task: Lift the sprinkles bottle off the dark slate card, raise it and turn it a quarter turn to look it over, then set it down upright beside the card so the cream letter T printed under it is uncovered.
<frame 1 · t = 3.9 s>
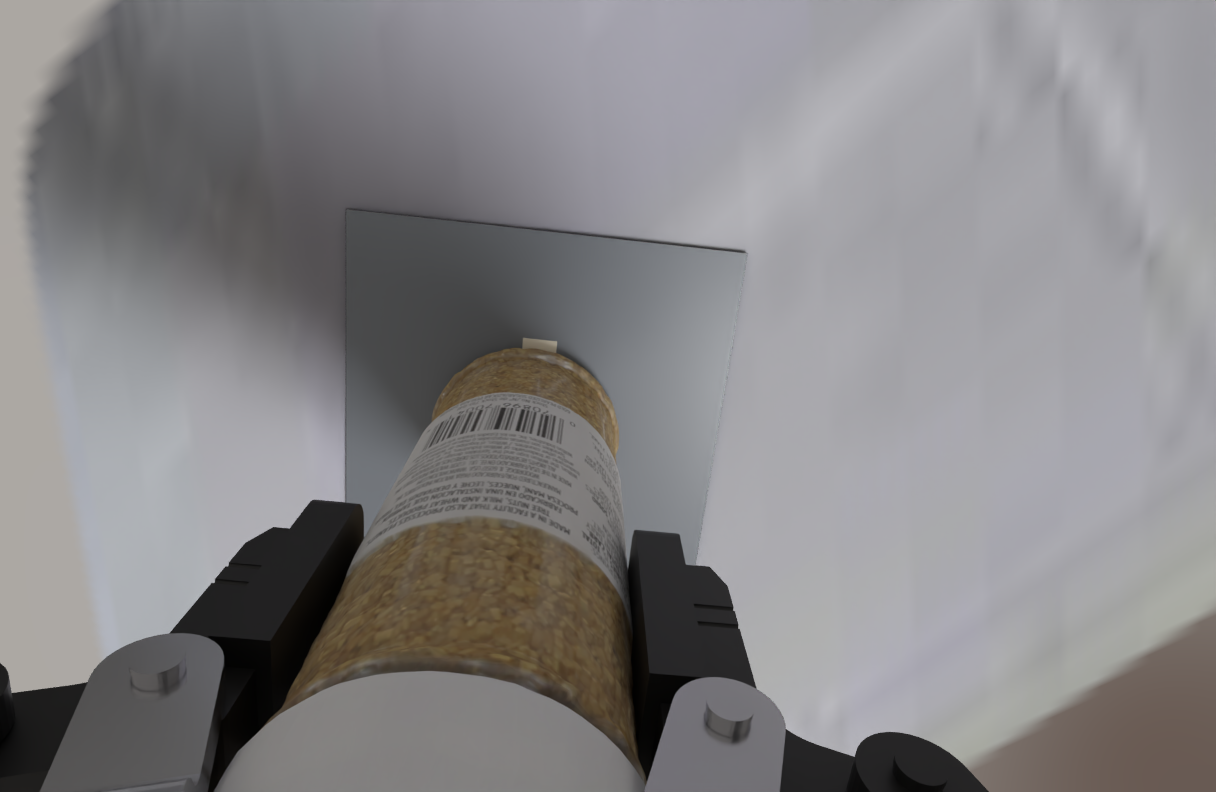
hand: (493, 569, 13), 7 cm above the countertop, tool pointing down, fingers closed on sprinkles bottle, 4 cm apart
letter card: (533, 417, 19), on the countertop
sprinkles bottle: (529, 428, 19), resting on letter card, touching gripper
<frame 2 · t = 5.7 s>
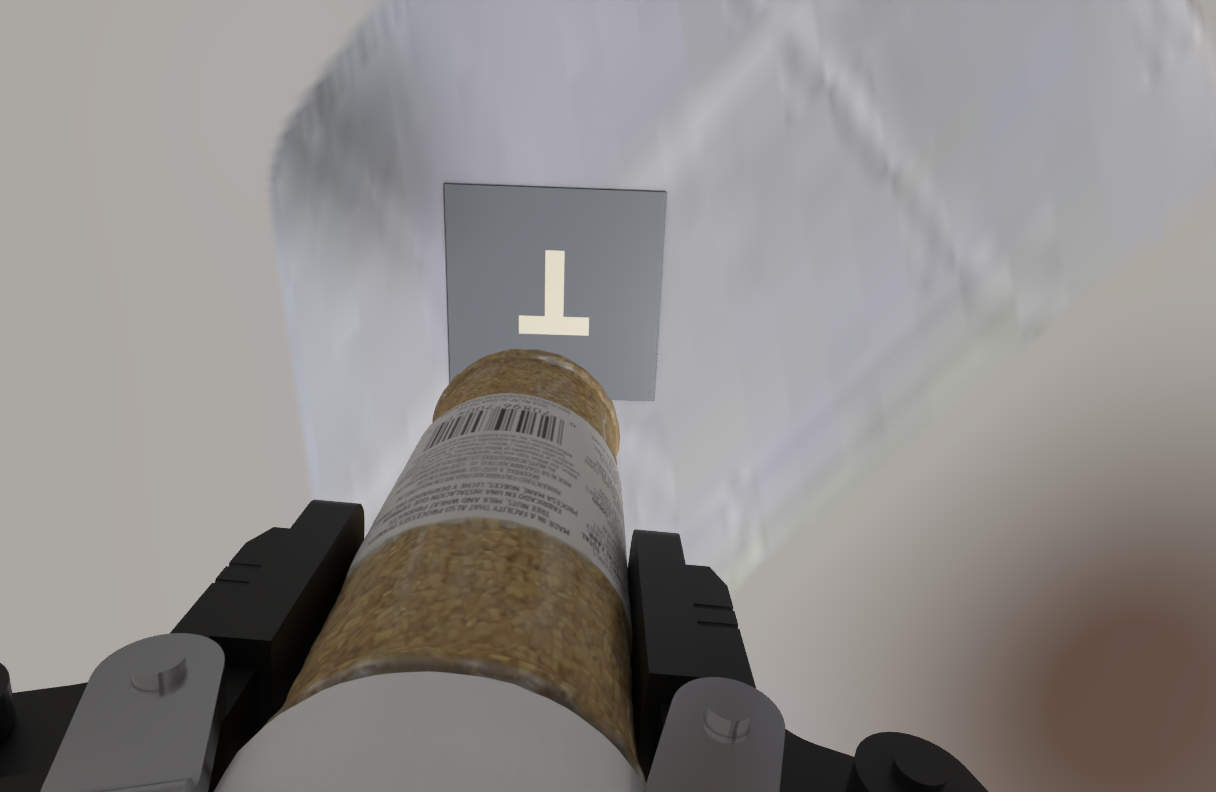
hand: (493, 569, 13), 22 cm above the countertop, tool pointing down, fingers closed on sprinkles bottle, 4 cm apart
letter card: (554, 297, 33), on the countertop
sprinkles bottle: (530, 429, 19), point 15 cm above the countertop, touching gripper
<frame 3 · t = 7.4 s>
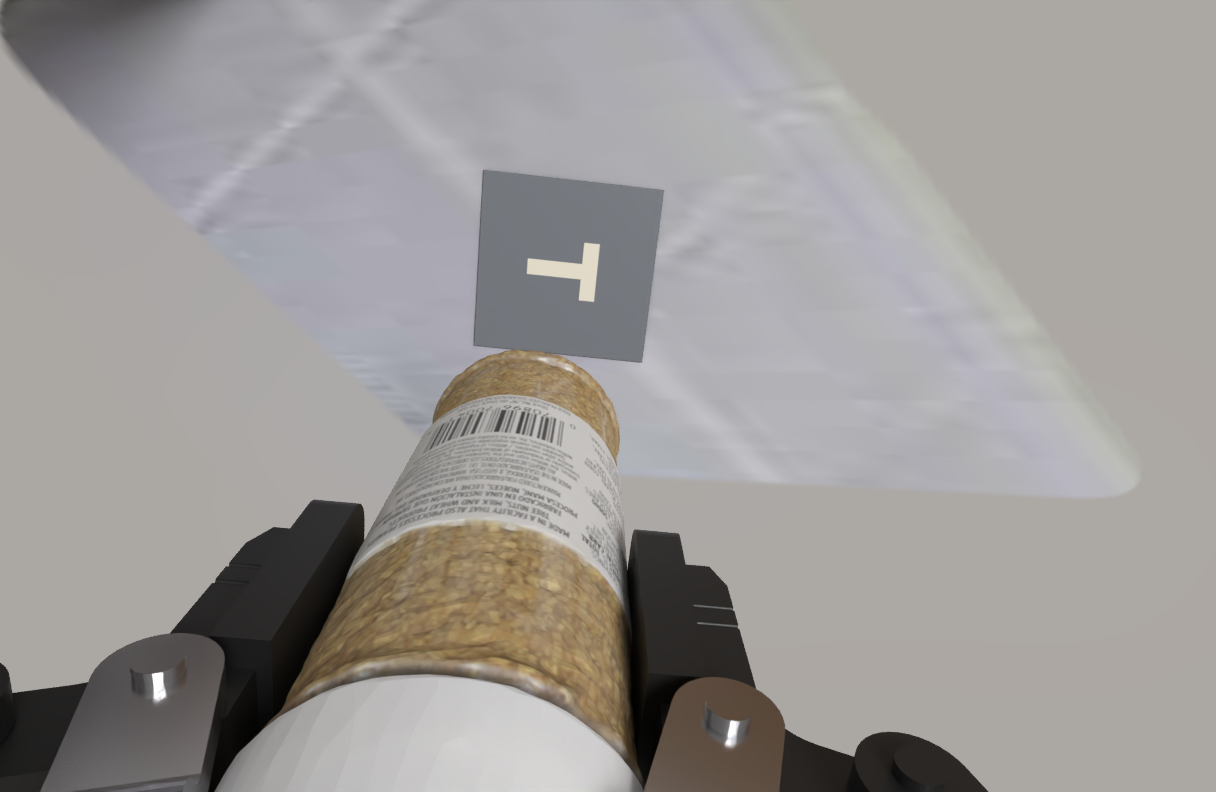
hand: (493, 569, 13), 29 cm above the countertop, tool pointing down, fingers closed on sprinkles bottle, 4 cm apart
letter card: (566, 269, 40), on the countertop
sprinkles bottle: (530, 430, 19), point 22 cm above the countertop, touching gripper
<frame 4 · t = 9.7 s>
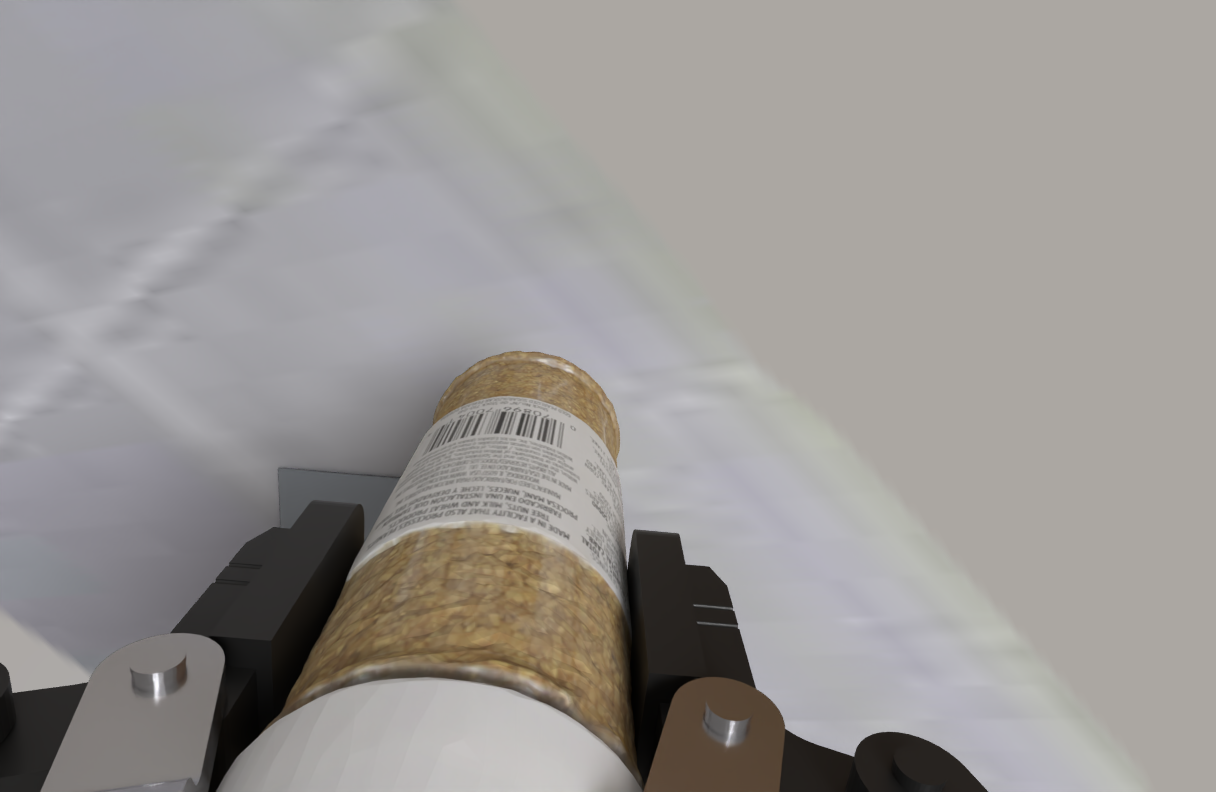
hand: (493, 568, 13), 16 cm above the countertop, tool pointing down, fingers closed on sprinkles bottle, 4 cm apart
letter card: (399, 581, 31), on the countertop
sprinkles bottle: (530, 431, 19), point 9 cm above the countertop, touching gripper
when the fingers open (8 cm above the countertop, at t = 11.4 s): sprinkles bottle drops 2 cm, on the countertop.
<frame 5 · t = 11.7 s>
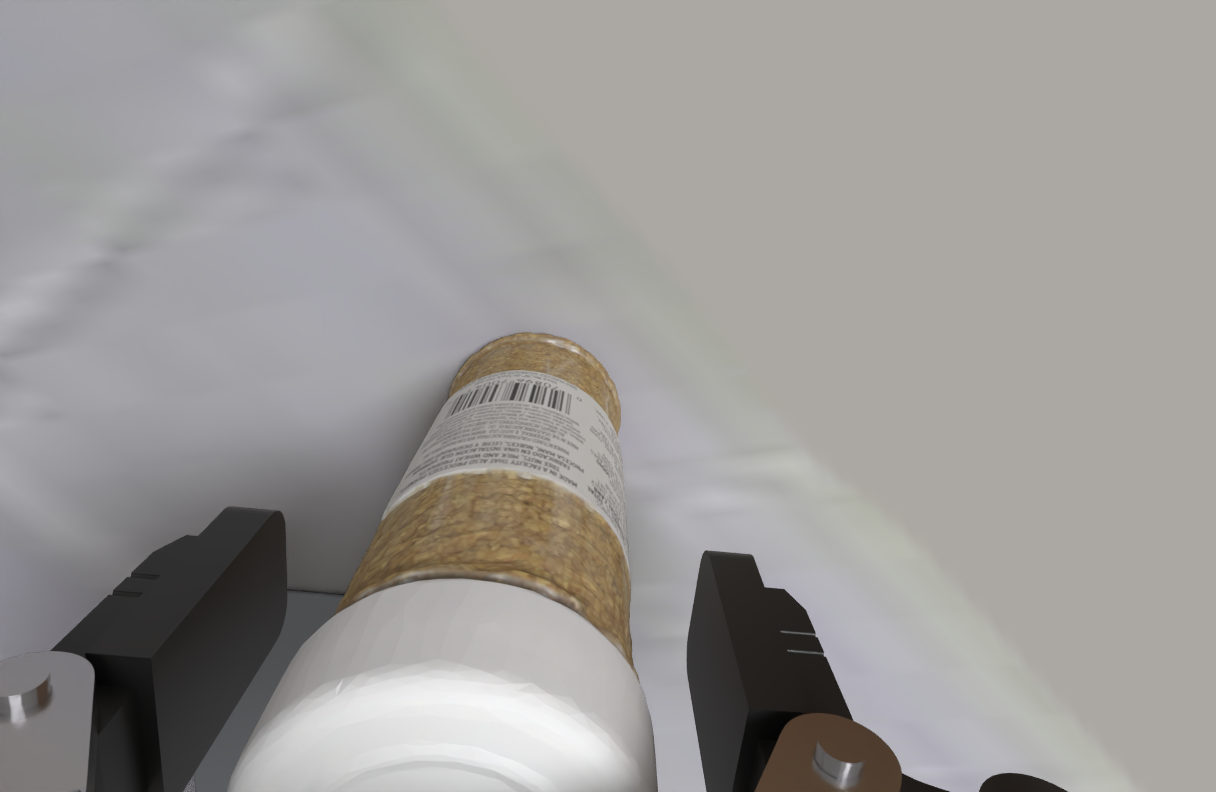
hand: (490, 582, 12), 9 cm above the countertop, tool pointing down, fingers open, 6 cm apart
letter card: (341, 721, 24), on the countertop
sprinkles bottle: (537, 408, 21), on the countertop
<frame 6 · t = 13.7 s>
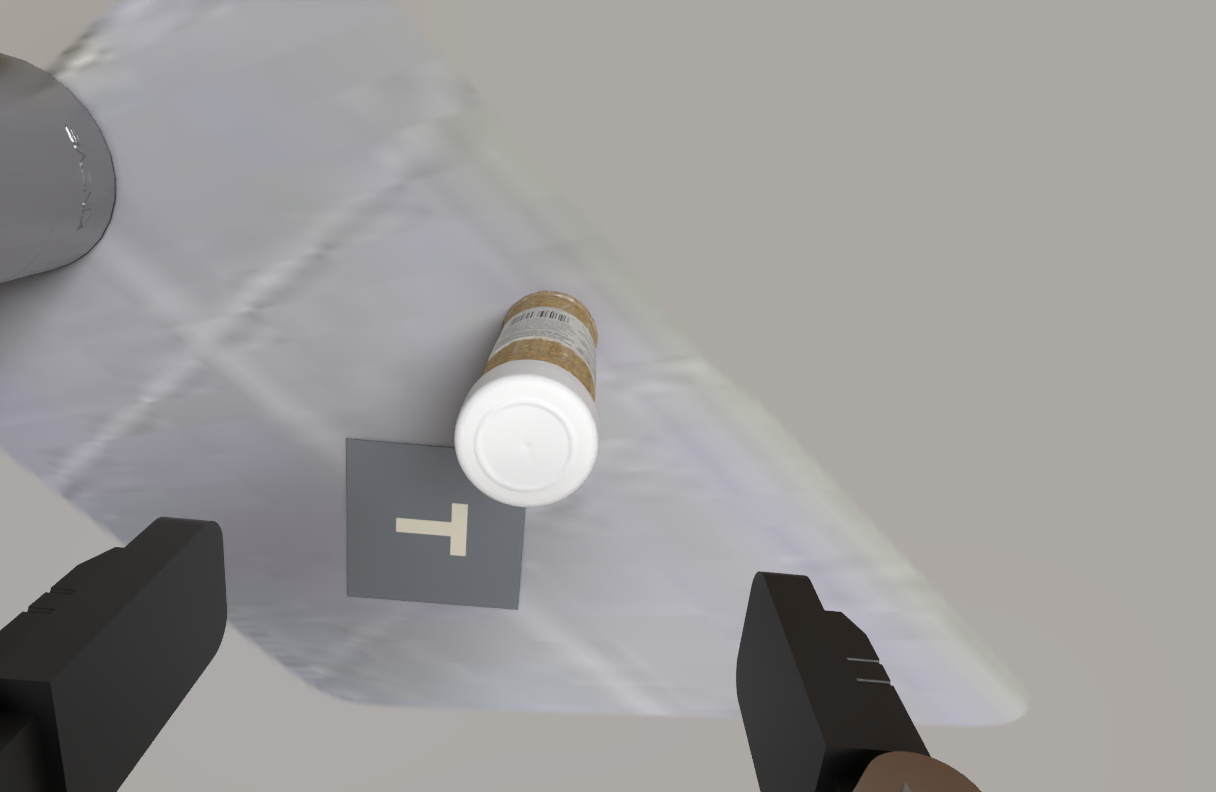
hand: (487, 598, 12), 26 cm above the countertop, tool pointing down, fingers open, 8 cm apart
letter card: (435, 526, 40), on the countertop
sprinkles bottle: (551, 334, 37), on the countertop
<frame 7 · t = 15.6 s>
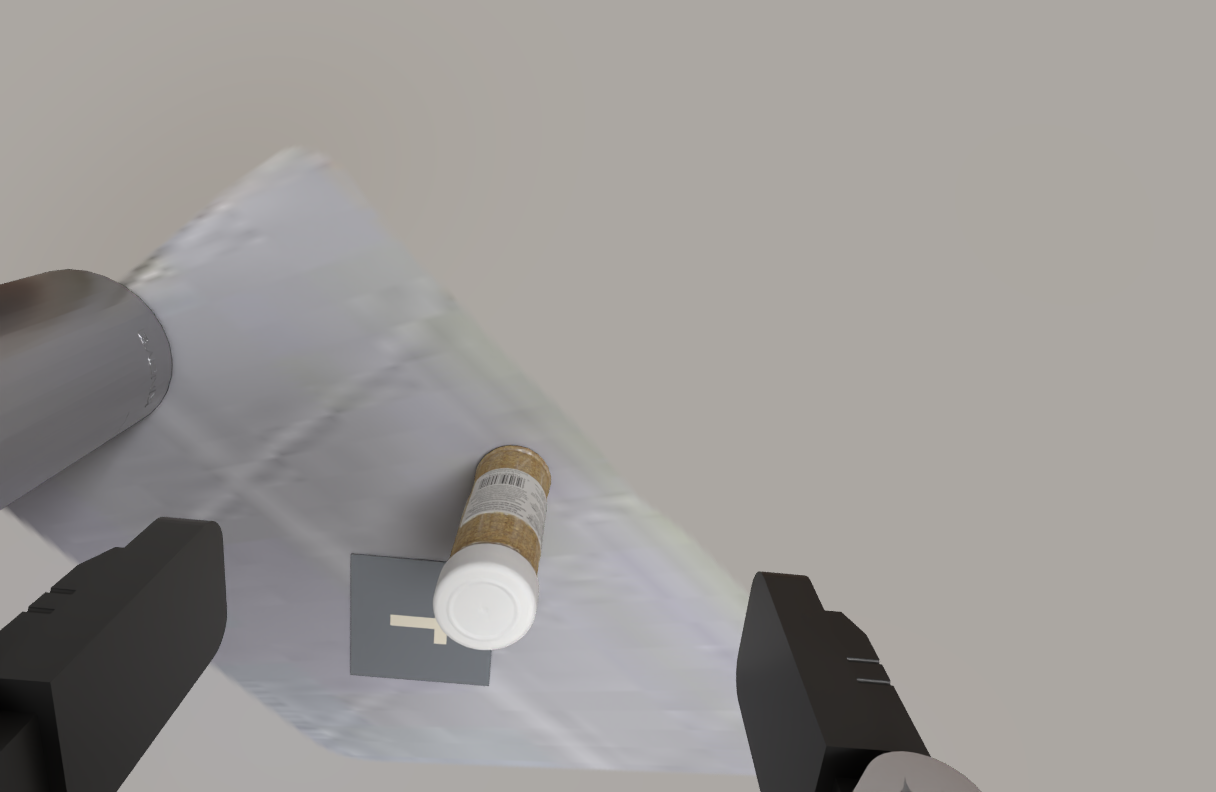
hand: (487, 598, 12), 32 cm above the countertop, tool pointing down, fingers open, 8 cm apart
letter card: (422, 621, 50), on the countertop
sprinkles bottle: (514, 476, 46), on the countertop
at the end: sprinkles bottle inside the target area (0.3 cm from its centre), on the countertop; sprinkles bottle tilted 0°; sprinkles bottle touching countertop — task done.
